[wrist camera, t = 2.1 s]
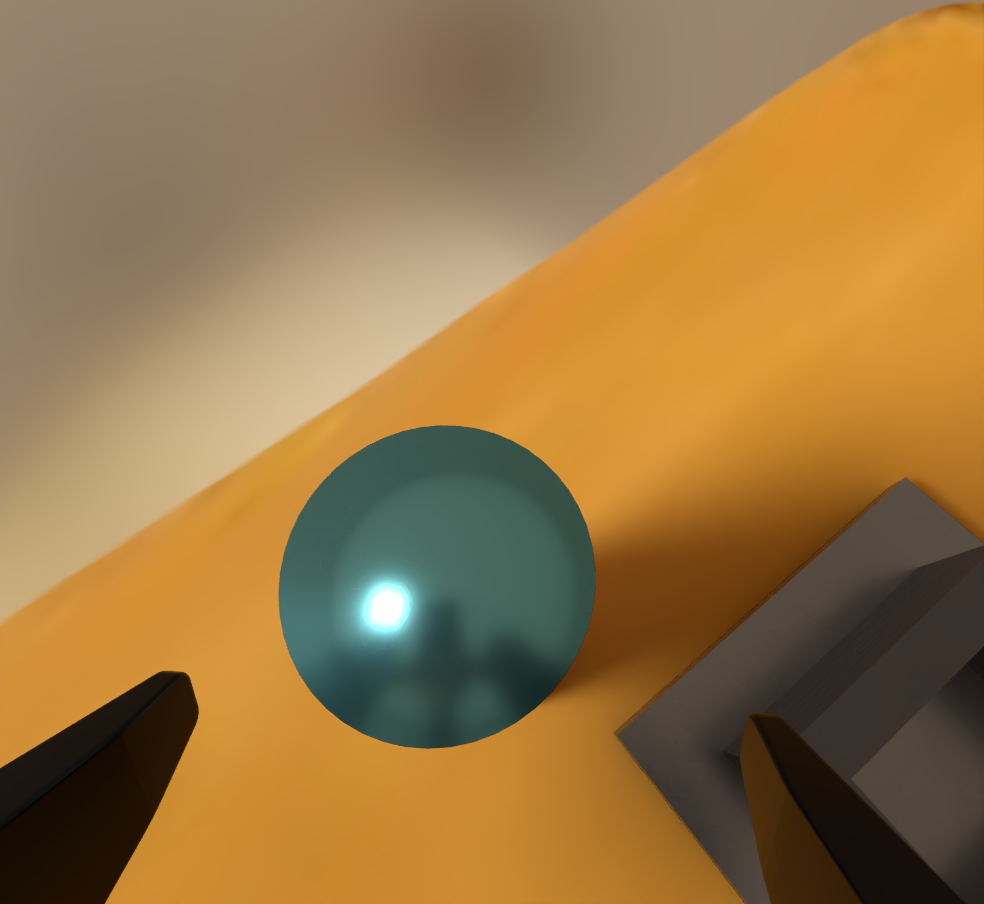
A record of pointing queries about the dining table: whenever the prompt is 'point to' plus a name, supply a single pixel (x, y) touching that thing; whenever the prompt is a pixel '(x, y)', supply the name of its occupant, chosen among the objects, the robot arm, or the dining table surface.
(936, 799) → the docking mount
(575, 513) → the teal and silver cylinder
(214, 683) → the dining table surface
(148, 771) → the robot arm
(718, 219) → the dining table surface
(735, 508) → the dining table surface
